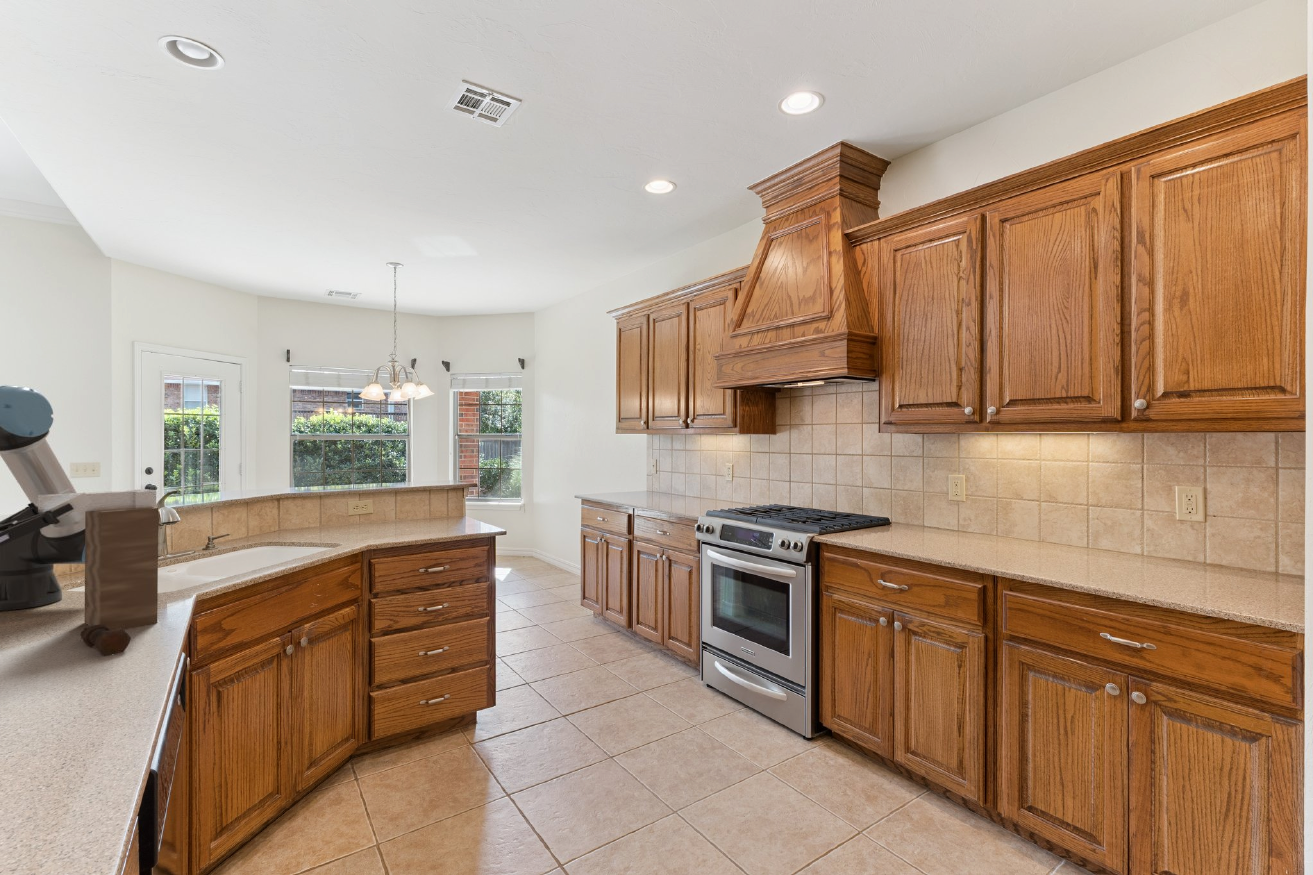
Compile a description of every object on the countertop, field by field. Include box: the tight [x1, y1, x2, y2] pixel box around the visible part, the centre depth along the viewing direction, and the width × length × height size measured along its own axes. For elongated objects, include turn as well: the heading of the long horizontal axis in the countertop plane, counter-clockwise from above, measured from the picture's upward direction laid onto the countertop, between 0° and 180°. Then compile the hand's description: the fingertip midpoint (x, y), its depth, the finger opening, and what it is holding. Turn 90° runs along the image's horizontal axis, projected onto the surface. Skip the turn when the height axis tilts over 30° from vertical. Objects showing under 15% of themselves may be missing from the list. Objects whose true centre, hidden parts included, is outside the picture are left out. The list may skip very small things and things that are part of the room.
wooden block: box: [83, 506, 159, 630], centre depth 149 cm, size 14×10×28 cm
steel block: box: [38, 488, 157, 513], centre depth 145 cm, size 7×20×4 cm, turn 144°
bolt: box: [80, 624, 132, 657], centre depth 131 cm, size 6×5×15 cm
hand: (80, 495), depth 142 cm, fingers open, 13 cm apart
